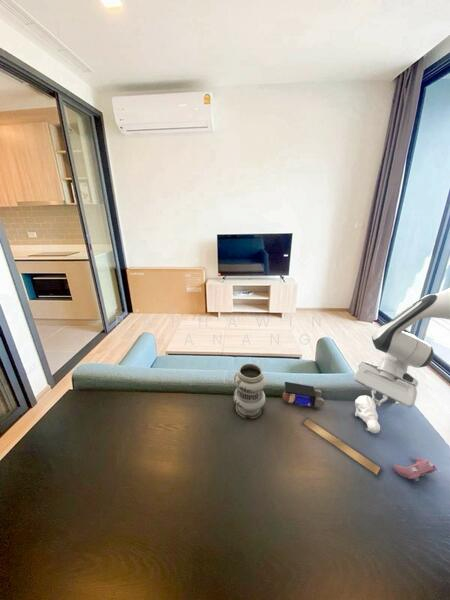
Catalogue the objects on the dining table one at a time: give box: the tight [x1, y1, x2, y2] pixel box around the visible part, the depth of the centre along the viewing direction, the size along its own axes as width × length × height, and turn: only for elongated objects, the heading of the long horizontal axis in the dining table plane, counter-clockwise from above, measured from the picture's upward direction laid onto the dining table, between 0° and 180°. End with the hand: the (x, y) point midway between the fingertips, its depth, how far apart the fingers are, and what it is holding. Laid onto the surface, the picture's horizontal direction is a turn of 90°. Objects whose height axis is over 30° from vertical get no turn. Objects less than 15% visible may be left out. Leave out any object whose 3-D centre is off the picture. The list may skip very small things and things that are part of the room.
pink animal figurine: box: [393, 457, 438, 482], centre depth 70 cm, size 10×5×7 cm, turn 105°
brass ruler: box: [303, 418, 381, 476], centre depth 80 cm, size 24×3×1 cm, turn 42°
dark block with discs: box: [282, 381, 325, 409], centre depth 96 cm, size 7×8×15 cm
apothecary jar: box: [232, 363, 267, 420], centre depth 91 cm, size 12×12×18 cm
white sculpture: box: [354, 394, 381, 434], centre depth 87 cm, size 6×8×12 cm
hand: (375, 404), depth 91 cm, fingers closed
